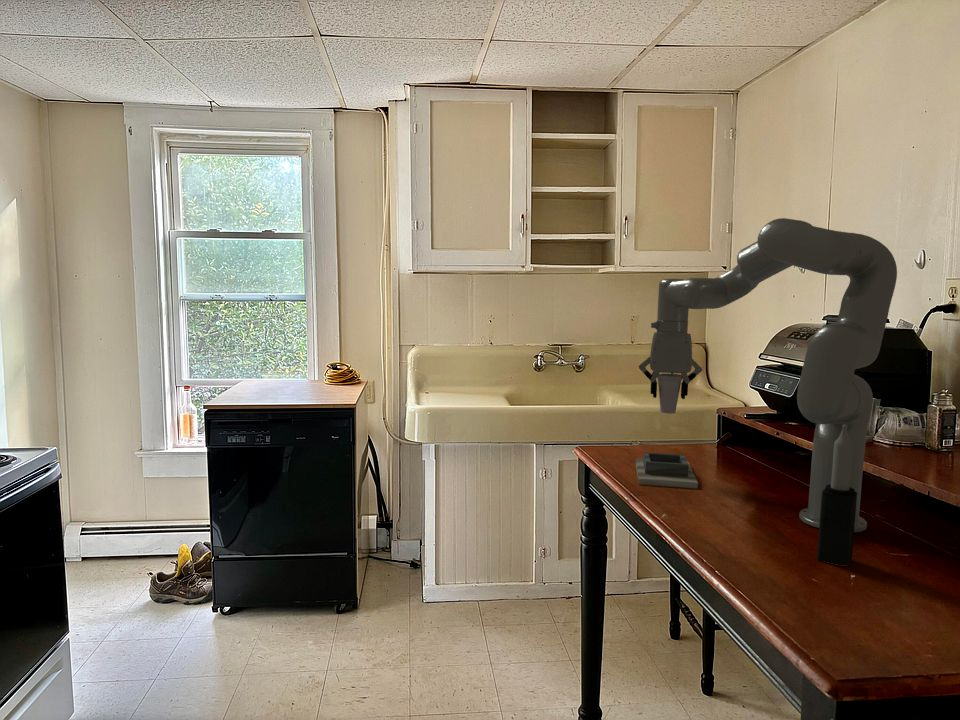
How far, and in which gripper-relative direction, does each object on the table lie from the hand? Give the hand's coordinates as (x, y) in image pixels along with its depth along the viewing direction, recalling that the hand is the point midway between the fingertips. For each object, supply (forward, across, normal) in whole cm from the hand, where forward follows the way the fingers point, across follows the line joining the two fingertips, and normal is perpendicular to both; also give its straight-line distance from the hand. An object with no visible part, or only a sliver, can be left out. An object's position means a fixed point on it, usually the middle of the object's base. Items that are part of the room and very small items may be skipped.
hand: (668, 397), depth 172 cm
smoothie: (+4, 0, 0) cm, 4 cm away
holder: (+21, 0, 0) cm, 21 cm away
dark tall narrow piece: (+21, +26, -49) cm, 59 cm away
